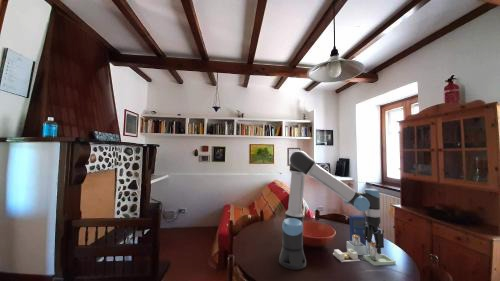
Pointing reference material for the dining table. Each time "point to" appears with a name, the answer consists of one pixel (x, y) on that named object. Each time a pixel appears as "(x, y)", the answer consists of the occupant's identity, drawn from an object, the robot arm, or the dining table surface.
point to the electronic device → (357, 227)
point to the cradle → (350, 252)
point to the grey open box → (357, 248)
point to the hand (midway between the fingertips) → (374, 256)
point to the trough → (380, 260)
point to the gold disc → (346, 256)
